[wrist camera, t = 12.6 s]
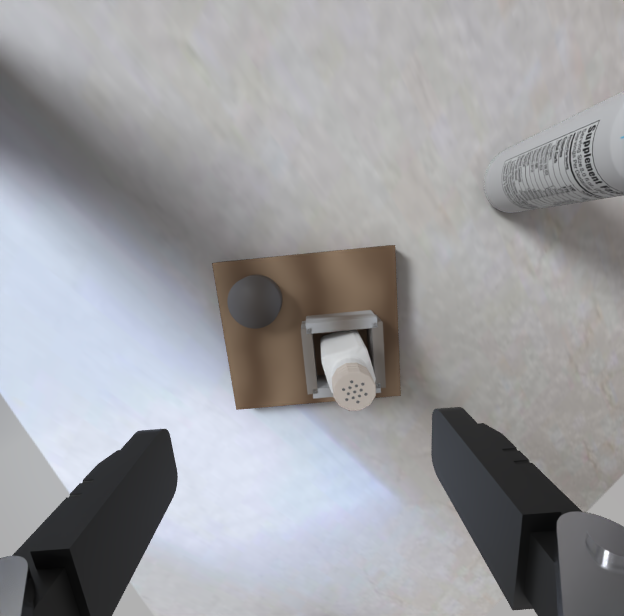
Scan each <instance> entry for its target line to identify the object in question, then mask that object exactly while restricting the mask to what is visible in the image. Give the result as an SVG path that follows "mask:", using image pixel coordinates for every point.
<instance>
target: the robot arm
mask: <svg viewBox="0 0 624 616" xmlns="http://www.w3.org/2000/svg"><path fill="white" fill-rule="evenodd" d="M432 462H433V466H434V469H435V472H436V475H437V477H438V479H439V481H440V482H441V484H442V486H443V488H444V489H445V491H446V493H447V495H448V497H449V498H450V500H451V502H452V504H453V505H454V507H455V509H456V511H457V512H458V514H459V516H460V518H461V520H462V521H463V523H464V525H465V527H466V528H467V530H468V532H469V534H470V535H471V537H472V539H473V541H474V543H475V544H476V546H477V548H478V550H479V551H480V553H481V555H482V557H483V558H484V560H485V562H486V564H487V566H488V567H489V569H490V571H491V573H492V574H493V576H494V578H495V580H496V582H497V583H498V585H499V587H500V589H501V590H502V592H503V594H504V596H505V597H506V599H507V601H508V603H509V604H510V606H511V608H512V610H522V609H534V610H535V612H536V613H537V615H538V616H624V527H623V526H621V525H620V524H617V523H616V522H613V521H611V520H609V519H607V518H604V517H601V516H598V515H595V514H591V513H586V512H582V511H581V510H580V509H579V508H578V507H577V506H576V505H575V504H574V503H573V502H572V501H571V500H570V499H569V498H568V497H567V496H566V495H565V494H563V493H562V492H561V491H560V490H559V489H558V488H557V487H556V486H555V485H554V484H553V483H552V482H551V481H550V480H549V479H548V478H547V477H546V476H545V475H544V474H543V473H542V472H541V471H540V470H539V469H538V468H537V467H536V466H535V465H534V464H533V463H530V462H529V460H528V459H527V458H526V457H525V456H524V455H523V454H522V453H521V452H520V451H517V449H516V447H515V446H514V445H513V444H512V443H511V442H510V441H509V440H508V439H507V438H506V437H505V436H504V435H503V434H501V433H500V432H498V431H496V430H494V429H493V428H491V427H489V426H487V425H486V424H484V423H481V424H477V423H476V421H475V420H474V419H473V418H472V417H471V416H470V415H469V414H468V413H467V412H466V411H465V410H464V409H463V408H461V407H454V408H441V409H435V410H434V411H433V414H432ZM177 477H178V476H177V468H176V463H175V458H174V453H173V448H172V443H171V438H170V434H169V432H168V430H167V429H156V430H142V431H138V432H136V433H135V434H134V435H133V436H132V438H131V439H130V440H129V441H128V442H127V443H126V444H125V445H124V447H123V448H122V449H121V450H117V451H116V452H115V453H113V454H112V455H110V456H109V457H107V458H106V459H105V460H103V461H102V462H100V463H99V464H98V465H97V466H96V467H95V468H94V469H93V470H92V471H91V472H90V473H89V474H88V475H87V476H86V477H85V478H84V480H83V483H80V484H79V485H78V486H77V487H76V488H75V489H74V490H73V491H72V492H71V493H70V497H69V498H66V499H65V500H64V501H63V502H62V503H61V504H60V506H58V508H56V510H55V511H54V512H53V513H52V514H51V515H50V516H49V517H48V518H47V519H46V520H45V521H44V522H43V523H42V524H41V525H40V527H39V528H38V529H37V530H36V531H35V532H34V533H33V534H32V535H31V536H30V537H29V538H28V539H27V540H26V542H25V543H24V544H23V545H22V546H21V547H20V548H19V549H18V550H17V551H16V552H15V553H14V554H13V555H12V556H7V557H3V558H0V616H112V614H113V612H114V610H115V608H116V607H117V605H118V603H119V601H120V599H121V597H122V595H123V593H124V591H125V589H126V587H127V585H128V583H129V582H130V580H131V578H132V576H133V574H134V572H135V570H136V568H137V566H138V564H139V562H140V560H141V558H142V556H143V555H144V553H145V551H146V549H147V547H148V545H149V543H150V541H151V539H152V537H153V535H154V533H155V531H156V529H157V528H158V526H159V524H160V522H161V520H162V518H163V516H164V514H165V512H166V510H167V508H168V506H169V504H170V502H171V501H172V499H173V496H174V494H175V491H176V487H177Z"/></svg>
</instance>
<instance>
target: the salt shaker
mask: <svg viewBox="0 0 624 616" xmlns="http://www.w3.org/2000/svg"><path fill="white" fill-rule="evenodd" d="M320 347H321V361H322V366H323V369H324V372H325V375H326V379H327V382H328V384H329V387H330V390H331V392H332V393H333V397H334V399H335V400H336V402H337V403H338V405H339V406H340V407H343V408H345V409H347V410H349V411H358V410H362V409H364V408H366V407H367V406H369V405H370V404H371V403H372V401H373V399H374V398H375V396H376V385H375V381H376V378H375V374H374V370H373V367H372V363H371V360H370V357H369V354H368V350H367V348H366V346H365V344H364V342H363V340H362V338H361V336H360V334H359V333H358V331H357V330H346V331H338V332H335V333H331V334H328V335H325V336H323V337H322V338H321V340H320Z"/></svg>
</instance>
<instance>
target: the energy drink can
mask: <svg viewBox="0 0 624 616" xmlns="http://www.w3.org/2000/svg"><path fill="white" fill-rule="evenodd" d="M484 191H485V194H486V197H487V199H488V201H489V202H490V203H491V205H492V206H494V207H495V208H496V209H498V210H500V211H503V212H507V213H515V212H521V211H528V210H534V209H540V208H547V207H553V206H559V205H566V204H572V203H578V202H584V201H591V200H597V199H603V198H610V197H616V196H622V195H624V91H623V92H621V93H618V94H616V95H614V96H612V97H610V98H608V99H606V100H604V101H602V102H600V103H598V104H596V105H594V106H592V107H590V108H588V109H586V110H584V111H582V112H580V113H578V114H576V115H574V116H572V117H570V118H568V119H566V120H564V121H562V122H560V123H558V124H556V125H554V126H552V127H550V128H548V129H546V130H544V131H542V132H540V133H538V134H536V135H534V136H532V137H530V138H527V139H525V140H523V141H521V142H519V143H517V144H515V145H513V146H511V147H509V148H507V149H505V150H504V151H502V152H501V153H499V154H498V155H497V156H496V157H495V158H494V159H493V160H492V162H491V163H490V164H489V166H488V168H487V170H486V174H485V178H484Z"/></svg>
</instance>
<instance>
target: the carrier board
mask: <svg viewBox="0 0 624 616" xmlns="http://www.w3.org/2000/svg"><path fill="white" fill-rule="evenodd" d="M212 266H213V272H214V278H215V284H216V290H217V296H218V302H219V308H220V314H221V320H222V326H223V332H224V338H225V344H226V350H227V356H228V362H229V368H230V374H231V380H232V386H233V392H234V398H235V404H236V410H238V409H250V408H261V407H273V406H285V405H296V404H308V403H319V402H331V401H336V400H335V399H334V397H333V393H332V392H331V390H330V387H329V384H328V382H327V379H326V375H325V372H324V369H323V366H322V361H321V347H320V340H321V338H322V337H323V336H325V335H328V334H331V333H335V332H338V331H346V330H357V331H358V333H359V334H360V336H361V338H362V340H363V342H364V344H365V346H366V348H367V350H368V354H369V357H370V360H371V363H372V367H373V370H374V374H375V378H376V381H375V385H376V396H375V398H378V397H389V396H401V392H400V364H399V337H398V310H397V283H396V256H395V245H388V246H378V247H368V248H358V249H347V250H337V251H327V252H317V253H307V254H297V255H286V256H276V257H266V258H256V259H246V260H236V261H226V262H217V263H212Z"/></svg>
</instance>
